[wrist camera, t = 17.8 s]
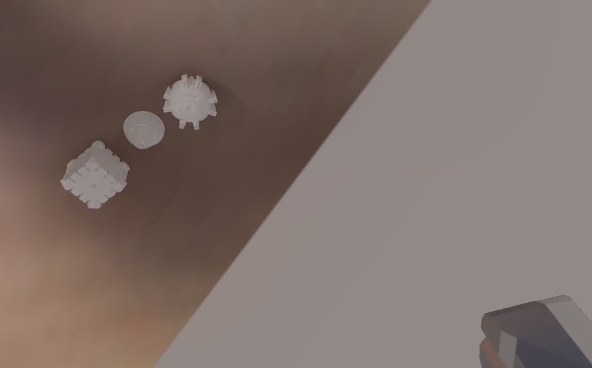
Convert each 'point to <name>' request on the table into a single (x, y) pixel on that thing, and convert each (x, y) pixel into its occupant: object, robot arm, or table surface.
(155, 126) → the game pieces
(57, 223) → the table surface
